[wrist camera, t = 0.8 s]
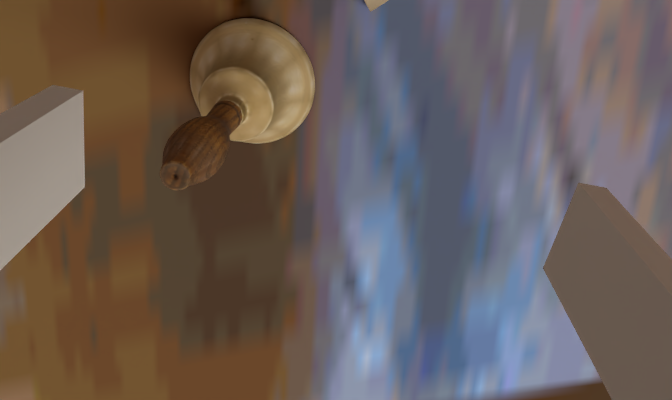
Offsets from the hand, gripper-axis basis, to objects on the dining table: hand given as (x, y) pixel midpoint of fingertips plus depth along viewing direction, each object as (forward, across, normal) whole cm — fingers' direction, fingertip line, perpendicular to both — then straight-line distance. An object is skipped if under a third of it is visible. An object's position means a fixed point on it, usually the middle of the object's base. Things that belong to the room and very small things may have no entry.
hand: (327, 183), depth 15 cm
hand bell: (+23, -5, -4) cm, 24 cm away
